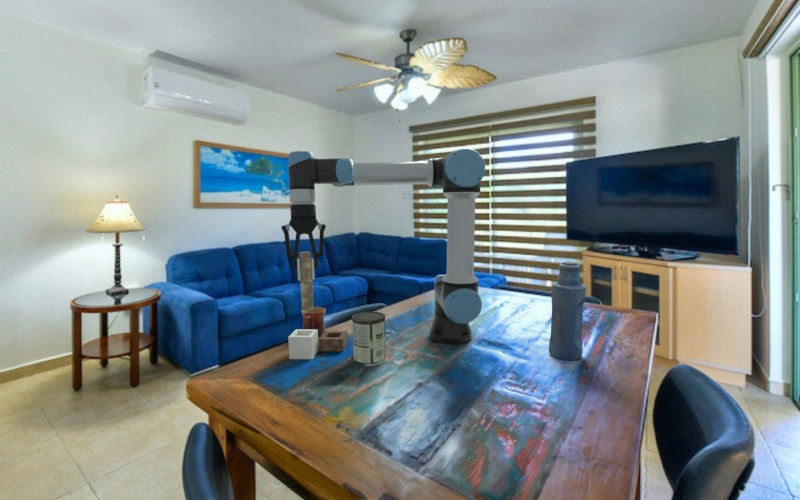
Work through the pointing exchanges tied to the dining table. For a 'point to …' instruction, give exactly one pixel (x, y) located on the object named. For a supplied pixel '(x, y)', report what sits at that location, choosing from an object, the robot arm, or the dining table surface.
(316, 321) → the mug
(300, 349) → the white hollow square frame
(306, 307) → the dowel
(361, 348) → the coffee can
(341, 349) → the socket block
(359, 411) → the dining table surface
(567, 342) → the bottle
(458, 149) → the robot arm
